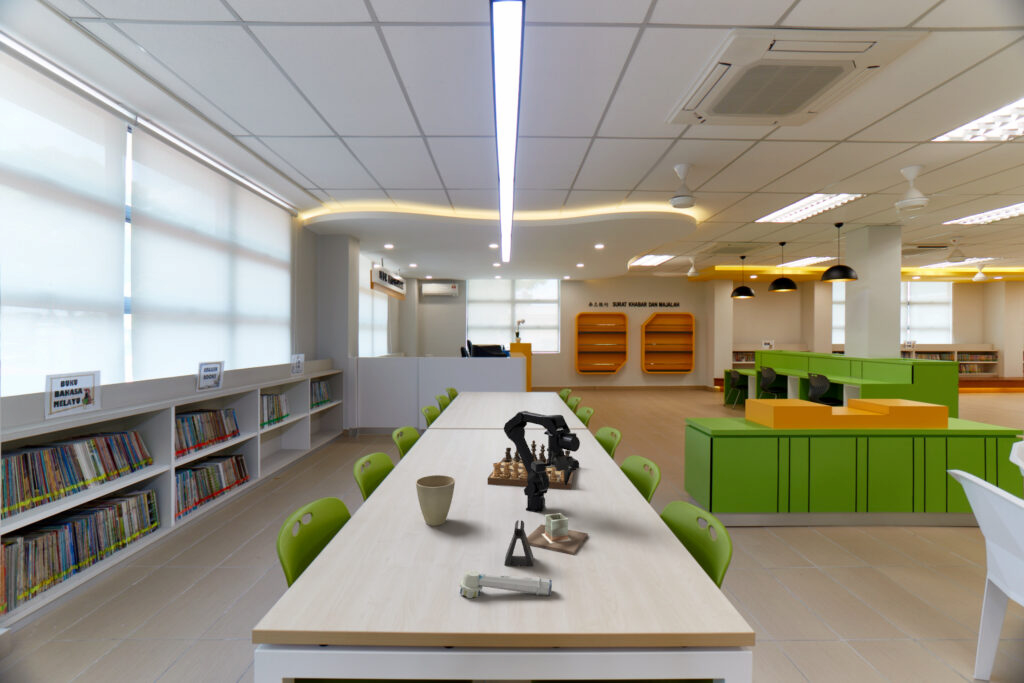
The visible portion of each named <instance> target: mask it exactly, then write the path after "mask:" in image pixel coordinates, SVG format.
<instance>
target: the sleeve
mask: <svg viewBox="0 0 1024 683" xmlns="http://www.w3.org/2000/svg"><path fill="white" fill-rule="evenodd" d="M544 525H545V535H546V536H547V537H548V538H549V539H550V540H551V541H552V542H553V541H560V540H566V539H568V530H569V518H567V517H566V516H565V515H564V514H562V513H561V512H558V513H550V514H545V515H544Z"/></svg>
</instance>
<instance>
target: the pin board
mask: <svg viewBox="0 0 1024 683" xmlns="http://www.w3.org/2000/svg"><path fill="white" fill-rule="evenodd" d="M588 536H589V534H588V532H583V531H577V530H572V529H568V539H566V540H560V541H553V542H552V541H551V540H550V539H549V538H548V537H547V536H546V535H545V524H542V523H541V524H540V525H539V526H538V527H537V528H536V529H535V530H533V532H532V533H530V534H529V535H528V536H527V539H528V542H529V545H530V547H535V548H541V549H545V550H551V551H555V552H559V553H563V554H569V555H573V556H574V555H575V554H576V552H577V551H578V550H579V548H580V547H581V546H582V544H583V543H584V542H585V540H586V539H587V538H588Z"/></svg>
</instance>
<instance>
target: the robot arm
mask: <svg viewBox="0 0 1024 683" xmlns="http://www.w3.org/2000/svg"><path fill="white" fill-rule="evenodd" d="M529 423H531V424H535V425H539V426H542V427H543V428H544V429H546V431H544V433H543V434H544V435H547V437H548V440H547V441H548V442H547V443H548V444H547V448H546V451H547V458H546V460H547V462H548V463H543V462H542V461H535V460H534V458H533V455H532V451H531V449H530V447H529V444H528V443H527V440H526V438H525V435H526V430H525V427H526V426H527V424H529ZM503 432H504V434H505V435H506V437H507V438H508V439H509V440H510V441H511V442H513V444H514V446H515V449H516V448H517V451H518V453H519V455H520V458H521V460H522V462H523V464H524V466H525V469H526V471H527V473H528V476H527V482H528V486H527V487H525V488H523V493H524V496H527V502H526V505H527V507H526V508H525V510H526V511H529V512H530V511H531V512H534V513H542V512H543V511H544V510H545V509H546V507H547V506H546V497H545V494H547V493H548V490H549V489H550V488H549V485H550V482H549V480H548V479H549V478H548V476H547V474H546V471H545V469H546V468H550V467H556V469H557V470H558V471H561V470H564V483H565V485H567V483H568V480H569V478H570V475H571V473H572V472H573V471H574V472H575V471H576V470H577V469H579V468H580V462H579V460H577V459H575V458H574V457H573V456H572V455H569V456H568V457H565V451H567V450H568V451H570V452H572V453H573V452H577V451H578V450H579V448H580V446H581V441H580V438H579V437H578V436H577V432H576V433H575V432H571V429H570V427H569V426H568V424H567V422H566V420H565V418H564V416H563V415H562V414H550V415H548V414H547V415H546V414H540V413H536V412H532V411H528V410H522V411H518V412H517V413H516V414H515V415H514V416H513V417H512V418H510V419H509V420H508V421H507V422H506V423H505V424H504V426H503Z"/></svg>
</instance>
